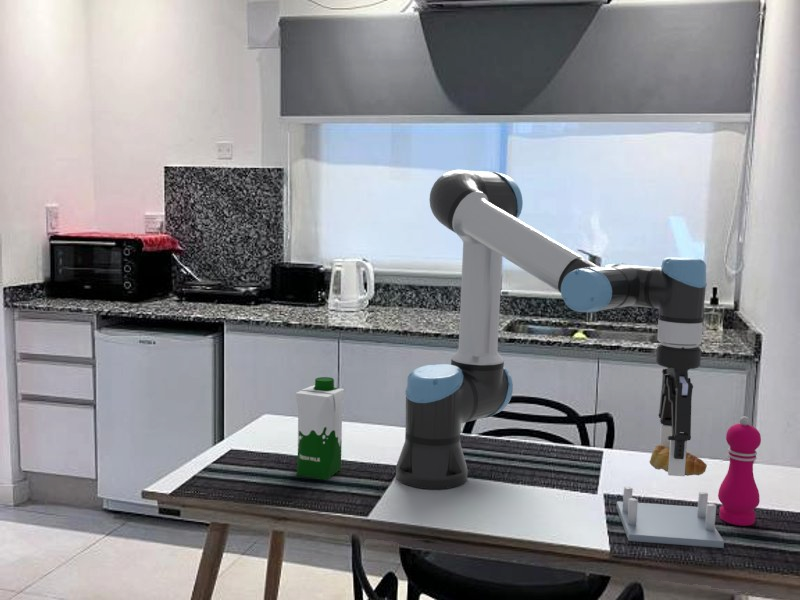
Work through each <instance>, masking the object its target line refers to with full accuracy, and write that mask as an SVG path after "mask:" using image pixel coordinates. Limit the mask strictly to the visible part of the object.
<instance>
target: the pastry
mask: <svg viewBox="0 0 800 600" xmlns="http://www.w3.org/2000/svg"><path fill="white" fill-rule="evenodd" d="M669 450H670V447H668V448H666V447H664V446H661V445H660V444H658V445H657V446H655V447H654V449H653V450H652V453H651V457H650V460H649V465H651V466H652V467H653V468H654V469H655V470H663V471H664V472H666V473H668V465H669ZM707 466H708V465H707V463H706V462H704V461H703V460H702V459H701V458H699V457H698V456H696V455H693V454H692V453H689V452H687V451H686V463H685V476H700V475H703V474H704V473H705V472H706V469H707Z"/></svg>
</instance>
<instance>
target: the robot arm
mask: <svg viewBox="0 0 800 600" xmlns="http://www.w3.org/2000/svg"><path fill="white" fill-rule="evenodd" d="M522 195H523V194H522V192H521V189H520V187H519V185H518V184H517V183H516V181H515V180H514V179H513V178H511V177H510V176H508V175H506V174H504V173H501V172H496V171H491V170H489V171H488V170H487V171H481V170H480V171H479V170H465V169H454V170H450V171H447V172H445V173H444V174H442V175H440V176H439V177H438V178H437V179H436V181H435V182H433V184H432V187H431V189H430V193H429V206H430V207H429V208H430V210H431V213H432V214H433V216H434V218H435V219H436V220H437V221H438V222H439V223H440V224H442V225H443V226H444V227H445V228H447V229H448V230H449V231H452V232H454V233H455V234H456V235H457V237H459V238H460V240H461V241H462V261H461V262H462V263H461V264H462V265H461V283H460V284H461V287H460V304H459V306H460V307H459V311H460V312H459V331H458V349H457V351H455V352H454V354H453V355H451V359H450V364H448V363H447V364H446V363H437V364H427V365H422V366H420V367H416V368H415V369H413V370H412V371H411V372H410V373H409V375H408V376H407V378H406V379H407V381H406V387H405V430H404V431H405V435H404V436H405V438H404V442H403V446H402V449H401V452H400V454H399V457H398V461H397V462H396V467H395V468H396V469H395V477H396V479H397V480H398V481H399V482H400V483H403V484H404V485H406V486H410V487H413V488H417V489H418V488H419V489H427V490H442V489H452V488H455V487H459V486H462V485H463V484H465V483H466V482H467V480H468V465H467V463H466V458H465V455H464V452H463V448H462V445H461V430H462V429H461V428H462V427H461V426H462V424H464V423H468V422H472V421H476V420H480V419H485V418H490V417H492V416H494V415H496V414H498V413H500V412H502V411H503V410H505V409H506V407H507V406H508V405H509V403H510V401H511V399H512V395H513V390H514V387H513V385H514V384H513V378H512V376H511V375H509V373H510V372H509V371H508V369H507V368H506V367H505V365H504V364H505V359H504V358H503V356H502V355H501V354H500V353H499V351H498V346H499V345H498V344H499V325H500V324H499V323H500V309H501V307H500V305H501V290H502V289H501V287H502V267H503V258H504V259H506V260H508V261H509V262H511V263H512V264H514V265H515V266H517V267H518V268H520V269H521V270H523V271H525V272H526V273H528V274H530V275H532V276H533V277H534V278H537V279H538V280H540V281H541V282H543V283H544V284H546V285H547V286H548V287H551V288H552V289H554V290H556V291H557V292H559V293H560V294H561V298H562V300H563V301H564V303H565V306H567V307H568V308H569V309H571V310H572V311H575V312H578V313H596V312H601V311H606V310H610V309H619V308H625V307H626V308H627V307H639V308H651V309H658V323H657V336H656V338H657V341H658V342H659V343H658V345H656V356H655V359H656V360H655V362H656V364H657V365H658V366H659V367H660V366H661V367H663V368H662V370H661V373H662V382H661V390H660V391H661V393H660V402H659V410H658V418H659V423H660V429H659V431H660V432H659V433H660V434H659V445H661V446H664V447H666V448H668V447H670V450H669V465H668V472H667V475H668V476H672V477H675V476H676V477H685V476H686V475H685V463H686V452H687V445H688V444H687V443H688V441H690V440H692V439H691V438H692V397H693V389H694V385H693V383H691V378H690V377H689V373H688V372H689V370H695V369H698V368H700V366H701V358H702V348H701V347H700V346H699V345H700V344H702V341H703V339H702V338H703V333H705V332H706V330H707V328H706V327H705V326H704V325H703V323H704V311H705V300H706V289H707V285H708V284H707V265H706V262H705V261H704V260H702V259H700V258H695V257H694V258H693V257H681V256H680V257H679V256H678V257H676V256H671V257H670V256H667V257H665V258H663V260H662V263H661V266H659V267H658V266H654V267H653V266H647V265H646V266H645V265H633V264H627V263H624V262H623V263H608V264H605V265H604V266H599V265H597V264H595V263H593V262H592V261H590V260H589V259H587V258H585V257H583V256H582V255H580V254H578V253H576V252H575V251H573V250H572V249H570V248H568V247H566V246H565V245H564V244H562V243H560V242H558V241H556V240H555V239H553V238H551V237H549V236H548V235H546V234H544V233H542V232H540V230H537V229H536V228H534V227H532V226H530V225H529V224H527V223H525V222H524V221H522V220H520V219H519V218H520V215H521V213H522V210H523V196H522Z"/></svg>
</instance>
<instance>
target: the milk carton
mask: <svg viewBox="0 0 800 600" xmlns="http://www.w3.org/2000/svg"><path fill="white" fill-rule="evenodd" d="M344 391H345V389H344V388H339V387H335V379H334V378H333V377H330V376H329V377H327V376H325V377H324V376H321V377H317V378H315V379H314V385H313V384H312V385H310V386H308V387H306V388H302V389H301V390H299V391H297V392H295V398H296V404H297V409H298V410H297V418H298V419H297V460H296V463H297V464H296V465H297V466H296V476H300V477H304V478H305V477H306V478H310V479H316V478H317V480H322V479H324V480H323V481H326V480H328V479H330V478H331V477H333V476H334V475H336V474H337V473H339V472H340V471H341V470H342V468H341V467H342V442H343V441H342V440H343V439H342V438H343V404H344V403H343V402H344V393H345V392H344ZM338 471H339V472H338ZM335 473H336V474H335ZM329 477H330V478H329Z"/></svg>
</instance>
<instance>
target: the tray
mask: <svg viewBox="0 0 800 600" xmlns="http://www.w3.org/2000/svg"><path fill="white" fill-rule="evenodd" d="M633 492H634V491H633V487H631V486H624V487H623V496H622V497H623V498H622V501H616V505H615V508H616V511H617V512H618V516H619V518H620V521H621V524H622V526H623V529H624V532H625V535H626V538H627V539H628V541H629V542H637V543H638V542H640V543H654V544H666V545H678V546H679V545H681V546H691V547H692V546H693V547H707V548H719V549H724V548H725V547H724V545H725V539H723V538H722V536H721V534H720V533H719V531H718V530H717V528H716V527H715V526H716V525H715V524H716V516H717V515H716V514H717V504H715V503H708V499H709V493H708V492H705V491H699V492H698V499H697V506H691V505H690V506H689V505H675V504H673V505H672V504H661V503H649V502H648V503H646V502H639V500H638V498H634V497H633Z"/></svg>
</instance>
